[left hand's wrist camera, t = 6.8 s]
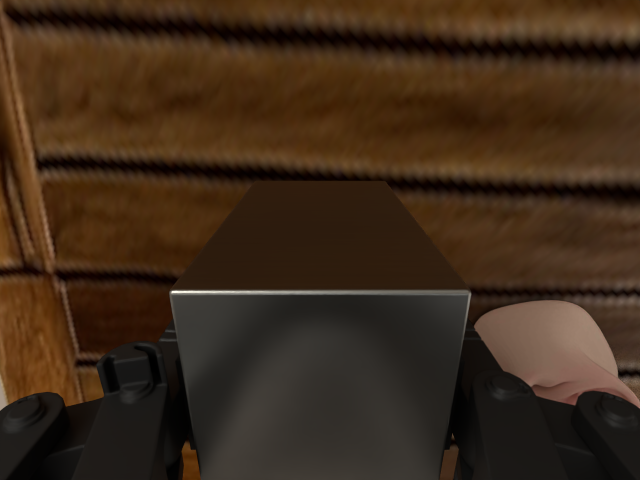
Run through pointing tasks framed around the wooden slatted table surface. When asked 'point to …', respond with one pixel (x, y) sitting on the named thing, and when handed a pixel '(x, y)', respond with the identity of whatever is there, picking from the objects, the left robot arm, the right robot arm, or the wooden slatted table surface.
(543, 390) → the anatomical model
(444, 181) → the wooden slatted table surface
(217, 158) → the wooden slatted table surface
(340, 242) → the bar
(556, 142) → the wooden slatted table surface
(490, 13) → the wooden slatted table surface
